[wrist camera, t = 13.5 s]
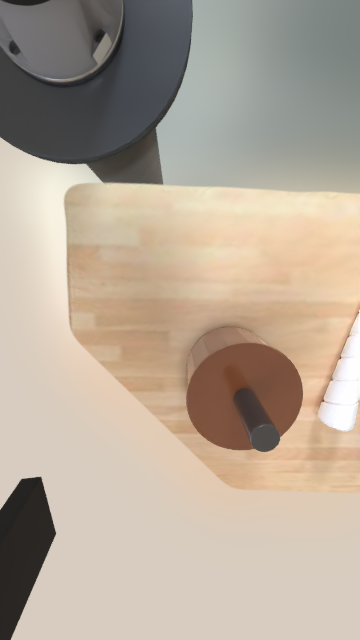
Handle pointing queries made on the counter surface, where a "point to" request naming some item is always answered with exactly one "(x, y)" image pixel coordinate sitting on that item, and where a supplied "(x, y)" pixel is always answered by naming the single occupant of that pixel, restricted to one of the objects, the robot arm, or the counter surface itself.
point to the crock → (217, 343)
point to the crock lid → (244, 396)
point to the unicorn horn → (344, 386)
